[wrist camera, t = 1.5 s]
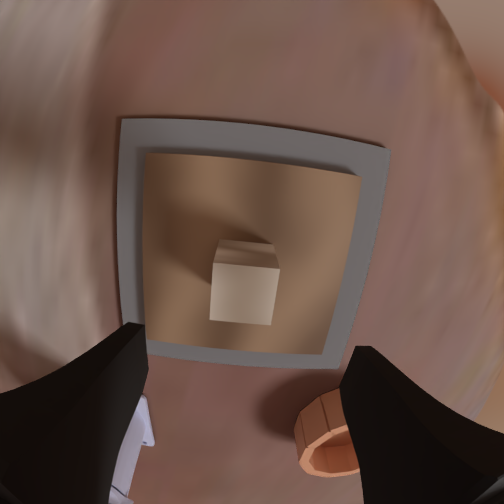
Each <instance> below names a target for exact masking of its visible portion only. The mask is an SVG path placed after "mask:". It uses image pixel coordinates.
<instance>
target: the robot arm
mask: <svg viewBox="0 0 504 504" xmlns="http://www.w3.org/2000/svg"><path fill="white" fill-rule="evenodd" d="M148 370H149V368H148V358H147V346H146V333H145V325H144V324H138V323H132V322H127V323H126V324H124V325H123V326H121V327H120V328H119V329H117V330H116V331H115V332H113V333H112V334H111V335H109V336H108V337H107V338H105V339H104V340H103V341H101V342H100V343H98V344H97V345H95V346H94V347H93V348H91V349H90V350H88V351H87V352H85V353H84V354H82V355H81V356H79V357H78V358H76V359H74V360H73V361H71V362H70V363H68V364H67V365H65V366H63V367H62V368H60V369H58V370H56V371H54V372H52V373H50V374H48V375H46V376H44V377H42V378H40V379H38V380H36V381H34V382H31V383H29V384H26V385H23V386H21V387H18V388H16V389H13V390H10V391H7V392H4V393H0V504H133V501H132V500H130V499H128V498H127V496H128V492H129V488H130V485H131V481H132V477H133V473H134V470H135V466H136V462H137V459H138V455H139V451H140V448H141V444H142V445H147V446H154V443H155V441H154V437H153V432H152V427H151V422H150V416H149V411H148V405H147V399H146V397H145V396H144V395H142V392H143V389H144V385H145V381H146V378H147V374H148ZM339 390H340V397H341V404H342V409H343V413H344V417H345V420H346V423H347V427H348V430H349V433H350V437H351V440H352V443H353V446H354V450H355V453H356V456H357V460H358V464H359V468H360V475H361V481H362V488H363V498H364V504H504V434H503V433H500V432H498V431H495V430H492V429H489V428H487V427H484V426H482V425H479V424H477V423H476V422H474V421H472V420H470V419H468V418H466V417H464V416H462V415H460V414H458V413H456V412H455V411H453V410H452V409H450V408H448V407H447V406H445V405H444V404H442V403H441V402H439V401H438V400H436V399H435V398H433V397H432V396H431V395H429V394H428V393H427V392H425V391H424V390H423V389H422V388H420V387H419V386H418V385H417V384H415V383H414V382H413V381H412V380H411V379H409V378H408V377H407V376H406V375H405V374H403V373H402V372H401V371H400V370H399V369H398V368H397V367H395V366H394V365H393V364H392V363H391V362H390V361H389V360H387V359H386V358H385V357H384V356H383V355H382V354H380V353H379V352H378V351H377V350H376V349H374V348H373V347H371V346H355V349H354V351H353V354H352V357H351V359H350V362H349V364H348V367H347V369H346V372H345V374H344V376H343V379H342V381H341V383H340V386H339Z"/></svg>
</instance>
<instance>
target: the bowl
mask: <svg viewBox="0 0 504 504" xmlns="http://www.w3.org/2000/svg"><path fill="white" fill-rule="evenodd" d="M294 434H295V441H296V447H297V453H298V460H299V464H300V465H301V466H302V468H303V469H304V470H305V471H306V473H308V474H312V475H317V476H321V477H335V476H344V475H350V474H354V473H357V472H359V471H360V468H359V464H358V460H357V456H356V453H355V450H354V446H353V443H352V440H351V437H350V433H349V430H348V427H347V423H346V420H345V417H344V413H343V409H342V404H341V397H340V390H339V388H338V389H335V390H333V391H330V392H328V393H325V394H322V395H321V396H318V397H317V398H316V399H315V400H314V401H313V402H311V403H310V404H309V405H308V406H306V407H305V408H304V409H303V410H302V411H300V413H299V415H298V418H297V421H296V423H295V426H294Z"/></svg>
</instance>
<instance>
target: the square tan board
mask: <svg viewBox="0 0 504 504" xmlns="http://www.w3.org/2000/svg"><path fill="white" fill-rule="evenodd" d="M361 181H362V177H361V176H357V175H352V174H346V173H341V172H335V171H329V170H323V169H317V168H310V167H304V166H297V165H290V164H282V163H274V162H266V161H258V160H249V159H239V158H229V157H218V156H205V155H191V154H173V153H146V158H145V173H144V192H143V233H142V249H143V290H144V309H145V325H146V337H147V339H148V340H155V341H161V342H168V343H176V344H183V345H191V346H199V347H208V348H218V349H228V350H239V351H252V352H267V353H284V354H311V355H322V353H323V349H324V346H325V342H326V339H327V335H328V332H329V328H330V325H331V321H332V317H333V313H334V310H335V306H336V302H337V298H338V294H339V290H340V286H341V282H342V278H343V273H344V269H345V265H346V260H347V256H348V251H349V246H350V241H351V237H352V232H353V226H354V221H355V216H356V211H357V205H358V199H359V193H360V187H361Z"/></svg>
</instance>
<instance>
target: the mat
mask: <svg viewBox="0 0 504 504" xmlns="http://www.w3.org/2000/svg"><path fill="white" fill-rule="evenodd" d="M146 153H173V154H191V155H205V156H218V157H229V158H239V159H249V160H258V161H266V162H274V163H282V164H290V165H297V166H304V167H310V168H317V169H323V170H329V171H335V172H341V173H346V174H352V175H357V176H361V177H362V181H361V187H360V193H359V199H358V205H357V211H356V216H355V221H354V226H353V232H352V237H351V241H350V246H349V251H348V256H347V260H346V265H345V269H344V273H343V278H342V282H341V286H340V290H339V294H338V298H337V302H336V306H335V310H334V313H333V317H332V321H331V325H330V328H329V332H328V335H327V339H326V342H325V346H324V349H323V353H322V355H311V354H284V353H267V352H252V351H239V350H228V349H218V348H208V347H199V346H191V345H183V344H176V343H168V342H161V341H155V340H148V339H147V337H146V346H147V354H151V355H157V356H163V357H170V358H177V359H185V360H193V361H201V362H210V363H219V364H230V365H242V366H256V367H273V368H299V369H338V368H339V365H340V362H341V359H342V356H343V353H344V350H345V348H346V344H347V341H348V338H349V335H350V332H351V329H352V326H353V322H354V319H355V316H356V313H357V309H358V306H359V302H360V299H361V295H362V291H363V288H364V284H365V280H366V276H367V273H368V269H369V265H370V260H371V256H372V252H373V248H374V243H375V239H376V234H377V230H378V225H379V220H380V215H381V210H382V204H383V199H384V193H385V188H386V182H387V175H388V169H389V162H390V155H391V150H390V149H387V148H383V147H379V146H374V145H370V144H366V143H361V142H357V141H352V140H348V139H343V138H338V137H333V136H327V135H322V134H316V133H311V132H305V131H298V130H292V129H285V128H278V127H270V126H262V125H253V124H244V123H234V122H222V121H208V120H190V119H151V118H140V119H122V123H121V134H120V146H119V160H118V181H117V250H118V271H119V286H120V299H121V309H122V319H123V325H124V324H126V323H127V322H132V323H138V324H144V325H145V309H144V290H143V249H142V233H143V192H144V173H145V158H146ZM145 333H146V325H145Z"/></svg>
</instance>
